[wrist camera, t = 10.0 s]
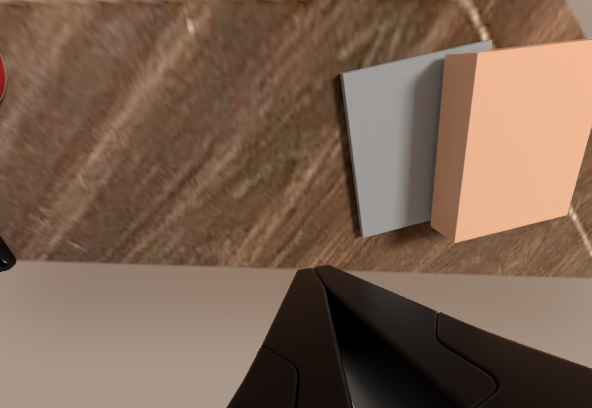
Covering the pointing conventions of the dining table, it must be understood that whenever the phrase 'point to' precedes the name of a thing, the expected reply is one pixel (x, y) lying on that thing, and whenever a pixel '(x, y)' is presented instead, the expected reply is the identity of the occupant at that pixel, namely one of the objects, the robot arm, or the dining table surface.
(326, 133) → the dining table surface
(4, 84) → the soda can
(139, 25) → the dining table surface
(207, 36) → the dining table surface
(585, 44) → the peach rectangular block
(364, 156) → the mat
